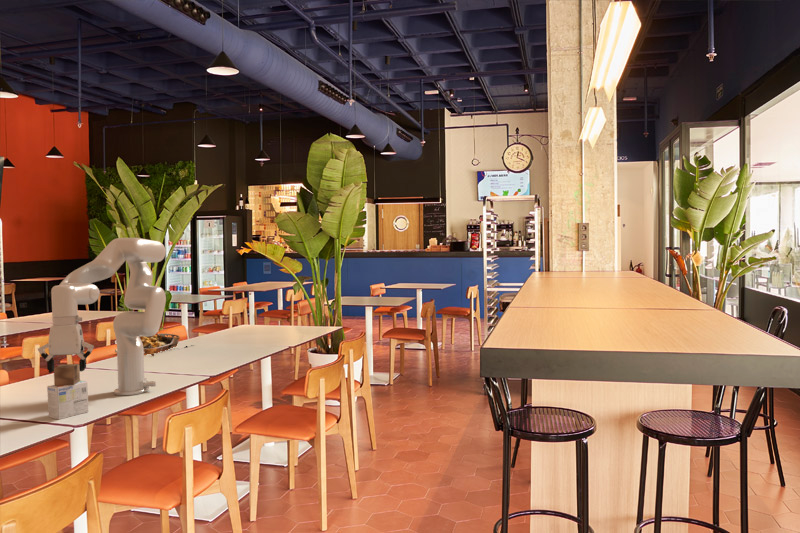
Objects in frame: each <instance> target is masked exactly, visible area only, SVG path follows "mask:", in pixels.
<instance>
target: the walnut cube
mask: <svg viewBox="0 0 800 533" xmlns="http://www.w3.org/2000/svg"><path fill="white" fill-rule="evenodd" d="M80 372H81V371H80V368H79V363H69V364H68V363H67V364H65V363H64V364H60V365H57V366H54V372H53V378H54V379H53V382H54V383H53V385H54V386H63V385H74V384H76V383H78V382H79V381H81V376H80V375H81V374H80Z"/></svg>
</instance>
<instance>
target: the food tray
mask: <svg viewBox="0 0 800 533" xmlns="http://www.w3.org/2000/svg"><path fill="white" fill-rule="evenodd" d="M139 338H140V339H141V341H142V343H143V348H144V355H145V356H146V355H147V354H151V355H150V356H151V357H154V356H155V354H154V353H156V354H157V353H158V352H159V353H161V352H160V351H162V352H166V351H169V350H168V349H170V348H173V347H176V346H177V344H179V340H180V339H181V336H180V335H177V334H173V333H172V334H171V333H159V332H157V333H156V334H155V335H153V336H139ZM165 350H166V351H165ZM170 350H171V349H170ZM114 353H115V354H117V349H114Z"/></svg>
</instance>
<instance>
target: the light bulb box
mask: <svg viewBox="0 0 800 533" xmlns="http://www.w3.org/2000/svg"><path fill="white" fill-rule="evenodd" d="M46 388H47V406H48V409H47V410H48V417H49V418H50V419H54V420H55V419H56V420H62V419H66V418H69V417H70V418H71V417H73V416H78V415H82V414H84V413H85V414H86V413H88V412H89V395H88V394H89V392H88V381H85V380H80V381H79V382H78V383H76V384H74V385H63V386H54V384H51V385H47V386H46Z"/></svg>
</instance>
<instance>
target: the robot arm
mask: <svg viewBox="0 0 800 533" xmlns="http://www.w3.org/2000/svg"><path fill="white" fill-rule="evenodd" d="M166 252H167V251H166V247H165V245H164V244H163V243H162V242H161V241H159V240H153V239H148V238H147V239H146V238H140V237H118V238H114V239H112V240H111V241H110V242H108V244H107V245H106V246H105V247H104V248H103V249H102V250H101V252H100V253H99V254H98V255H97V256H96V257H95V258H94V259H93V260H92V261H90V262H88V263H86V264H84V265H82V266H80V267H78V268H77V269H74V270H73V271H72V272H70V273H68V275H66V277H64V279H63V280H62V281H61V282H60V283H59V285H54V286H52V288H51V290H50V291H51V292H50V294H51V311H52V312H51V314H52V315H51V318H52V325H50V329H49V334H48V343H46V344H44V345H42V346H40V347H39V348H37V351H38V353H39V354H40V356H41V357H42V358H43V359H44V360H45V362H46V367H47V371H48V374H52V373H54V368H55V360H54V357H55V356H72V355H76V356H78V357H79V362H78V364H79V370H80V372H84V371H85V370H86V368H87V358H88V357H89V356H90V355H91V354H92V352H93V350H94V348H95V345H93V344H90V343H88V342H86V341H85V339H84V334H83V329H82V325H81V324H79V322H80V323H81V322H82V321H83V318H82V317H79V315H78V305H91V304H94V303H95V302H97V301H98V300H99V298H100V294H101V292H100V288H98V286H97V285H95V284H93V283H97V282H101V281H103V280H106V279H108V278H111V277H112V276H114V275H115V274H116V273H117V271H118V270H119V269H120V268H121V266H123V264H124V263H125V262H126V263H127V265H128V268H129V272H130V273H129V279H128V282H127V286H126V290H125V294H124V301H123V303H124V305H125V307H126V308H127V309H129V310H130V309H131V310H138V311H123V312H119V313H118V314H117V315H116V316H115V317H114V319H113V322H112V323H113V326H112V327H113V331H114V332H113V333H114V336H115V339H116V342H115V343H116V350H117V353H116V360H117V365H116V366H117V388H116V389H114V390H113V393H114V395H117V396H134V395H140V394H144V393H146V392H148V391H149V390H150V387H151V388H153V387H157V382H156V381H154V380H152V381H151V380H150V381H148V380H147V377H145V358H144V357H145V356H144V348H143V343H142V341H141V339H140V338H139V337H140V336H153V335H155V334H156V333H159V330H160V327H161V323H162V319H163V316H164V311H165V308H166V304H167V303H166V302H167V297H166V291H165V290H164V288H162V287H161V286H158V285H157V286H156V285H152V284H153V278H154V275H153V272H152V270H151V268H150V266H149V265H148V263H159V262H162V261H163V260H164V259H165V256H166ZM140 310H141V311H140ZM142 310H143V311H142ZM85 348H87V351H85ZM46 349H48V350H47V351H48V353H47V352H46ZM84 351H85V352H84Z"/></svg>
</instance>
